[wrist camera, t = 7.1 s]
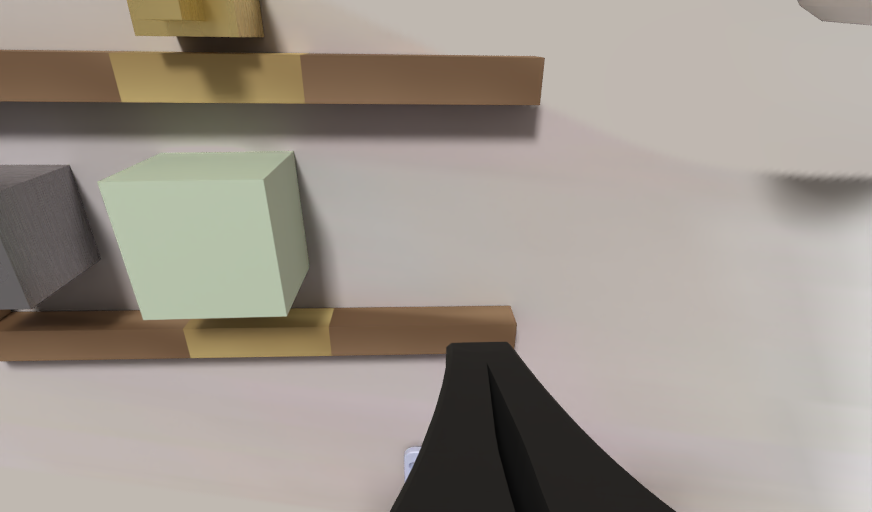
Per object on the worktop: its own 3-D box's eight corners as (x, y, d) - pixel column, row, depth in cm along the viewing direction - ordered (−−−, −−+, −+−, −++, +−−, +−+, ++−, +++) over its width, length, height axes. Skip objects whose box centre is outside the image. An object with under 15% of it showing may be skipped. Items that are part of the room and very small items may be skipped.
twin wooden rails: (507, 332, 22) (513, 352, 20) (-11, 340, 21) (-40, 362, 19) (534, 56, 16) (544, 57, 15) (-155, 48, 15) (-210, 48, 14)
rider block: (310, 265, 20) (287, 316, 16) (192, 268, 20) (143, 320, 16) (294, 150, 18) (263, 179, 14) (162, 152, 18) (97, 181, 14)
